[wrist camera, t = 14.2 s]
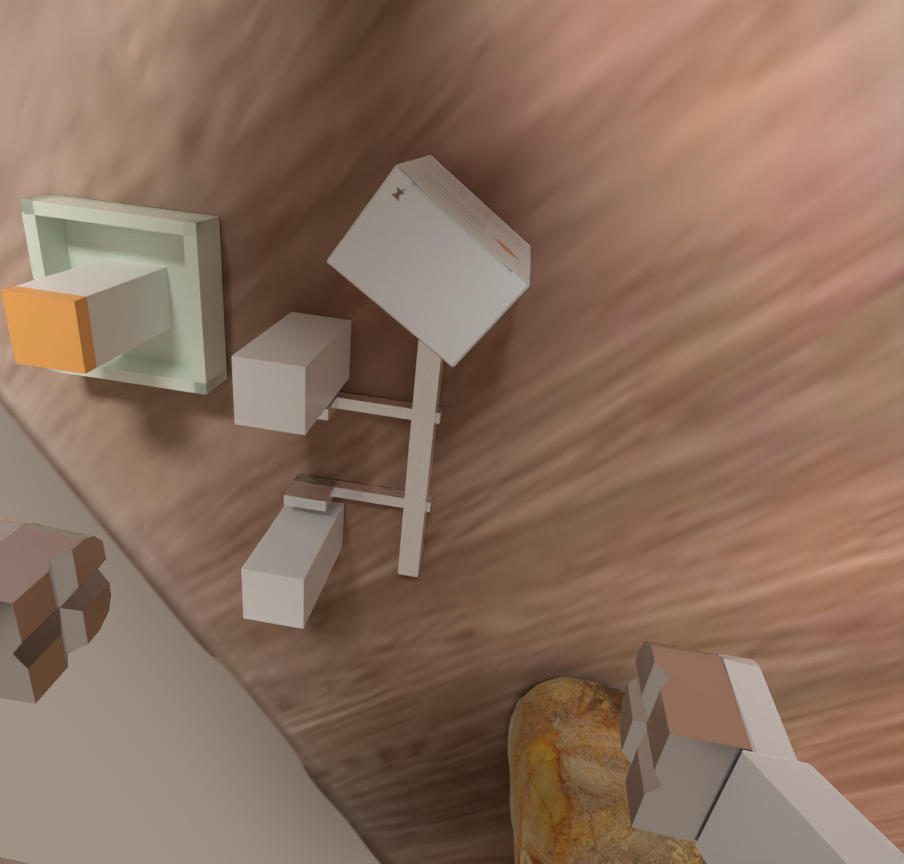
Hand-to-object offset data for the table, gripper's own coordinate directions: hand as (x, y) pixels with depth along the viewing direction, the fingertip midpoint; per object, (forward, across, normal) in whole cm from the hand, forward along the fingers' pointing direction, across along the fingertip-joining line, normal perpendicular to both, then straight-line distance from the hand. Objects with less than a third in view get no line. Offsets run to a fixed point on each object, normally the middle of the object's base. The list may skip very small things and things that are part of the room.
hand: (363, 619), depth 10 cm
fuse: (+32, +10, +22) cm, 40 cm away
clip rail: (+32, +7, +15) cm, 36 cm away
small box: (+32, +3, 0) cm, 33 cm away
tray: (+32, +23, +6) cm, 40 cm away
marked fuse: (+32, +23, +6) cm, 39 cm away
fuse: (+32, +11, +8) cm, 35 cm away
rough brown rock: (+32, -16, +42) cm, 55 cm away
